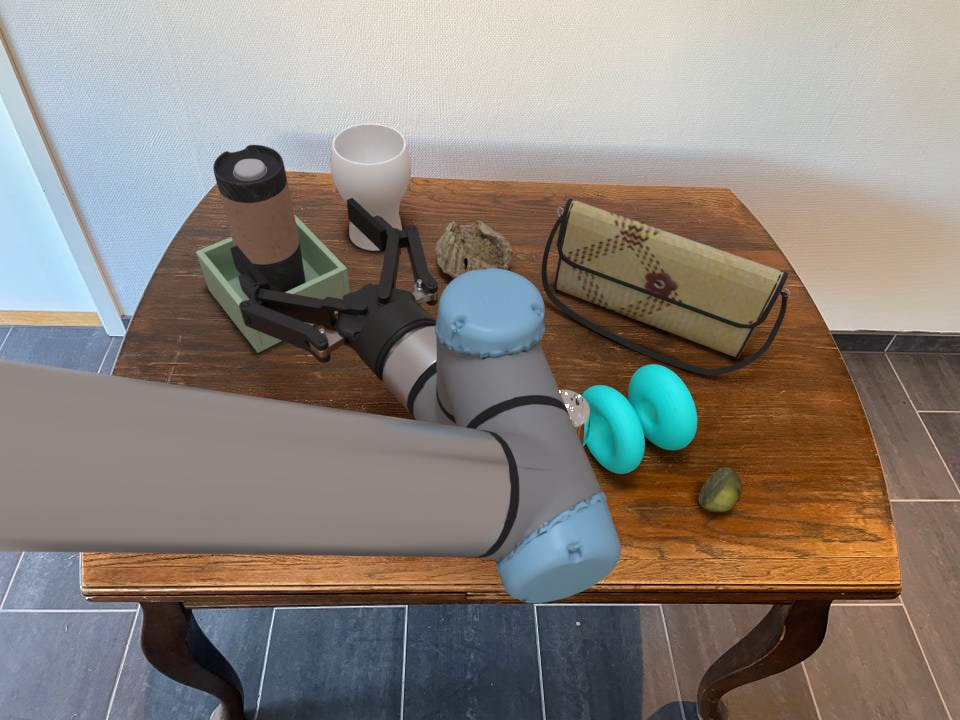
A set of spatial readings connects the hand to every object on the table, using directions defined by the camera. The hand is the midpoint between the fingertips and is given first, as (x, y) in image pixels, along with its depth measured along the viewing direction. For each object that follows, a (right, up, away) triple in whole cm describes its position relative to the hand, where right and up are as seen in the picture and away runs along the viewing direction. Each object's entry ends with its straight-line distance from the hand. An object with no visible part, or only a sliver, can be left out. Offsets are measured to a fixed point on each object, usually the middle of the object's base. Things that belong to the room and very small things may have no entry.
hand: (295, 231), depth 73 cm
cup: (+4, +5, +27) cm, 28 cm away
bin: (-7, -5, +18) cm, 20 cm away
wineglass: (+27, -26, +4) cm, 38 cm away
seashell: (+18, -1, +24) cm, 30 cm away
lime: (+45, -29, +2) cm, 54 cm away
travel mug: (-7, -5, +18) cm, 19 cm away
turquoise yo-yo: (+36, -23, +7) cm, 44 cm away
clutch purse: (+41, -10, +18) cm, 46 cm away
